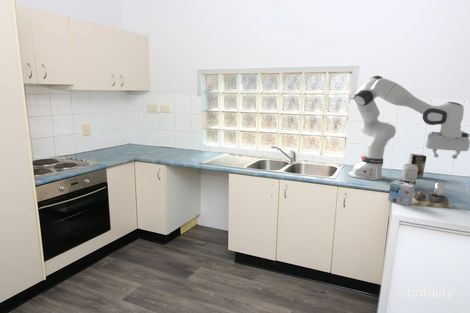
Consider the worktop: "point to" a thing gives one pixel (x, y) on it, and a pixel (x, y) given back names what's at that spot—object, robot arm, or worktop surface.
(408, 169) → the supplement can
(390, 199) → the light bulb box
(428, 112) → the robot arm
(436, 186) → the pipe fitting
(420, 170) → the coffee box
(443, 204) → the manifold plate
